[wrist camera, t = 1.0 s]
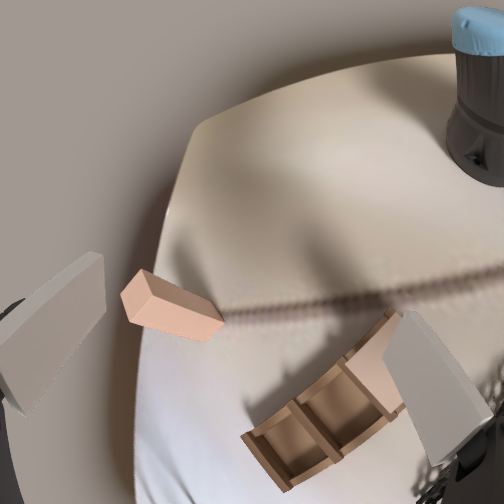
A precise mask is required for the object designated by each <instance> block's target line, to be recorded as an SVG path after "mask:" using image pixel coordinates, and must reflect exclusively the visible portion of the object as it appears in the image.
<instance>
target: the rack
mask: <svg viewBox="0 0 504 504" xmlns="http://www.w3.org/2000/svg"><path fill="white" fill-rule="evenodd" d="M395 312H396V311H395V310H394V309H393V308H392V307H391V306H390V307H389V309H388V310H387V311H386V312H385V313H384V316H383V317H382V318H381V319H380V321H379V322H378V323H377V324H376V325H375V326H374V327H373V328H372V329H371V330H370V331H369V332H368V333H367V334H366V335H365V336H364V337H363V338H362V339H361V340H360V341H359V342H358V343H357V344H356V345H355V346H354V347H353V348H352V349H351V350H350V351H349V352H348V353H347V354H346V355H345V356H342V357H341V358H340V359H338V360H337V361H336V362H335V363H336V364H335V365H334V366H333V367H332V368H331V369H330V370H328V371H327V372H326V373H325V374H324V375H323V376H322V377H320V378H319V379H318V380H317V381H316V382H315V383H313V384H312V385H311V386H310V387H309V388H307V389H306V390H305V391H304V392H303V393H301V394H300V395H299V396H298V397H296V398H294V399H292V400H290V401H289V402H288V403H286V404H285V405H286V406H285V407H283V408H282V409H281V410H279V411H278V412H277V413H275V414H274V415H273V416H271V417H270V418H268V419H267V420H266V421H264V422H263V423H261V424H260V425H259V426H257V427H256V428H254V429H253V430H251V431H249V432H246V433H244V434H243V435H241V436H240V437H241V439H242V440H243V441H244V443H245V444H246V446H247V447H248V448H249V450H250V451H251V452H252V454H253V455H254V457H255V458H256V459H257V461H258V462H259V463H260V464H261V466H262V467H263V468H264V470H265V471H266V472H267V473H268V475H269V476H270V477H271V479H272V480H273V481H274V482H275V483H276V485H277V486H278V487H279V488H280V489H281V491H282V492H283V493H285V492H287V491H289V490H291V489H292V488H293V487H294V486H296V485H298V484H300V483H302V482H303V481H305V480H307V479H309V478H311V477H312V476H314V475H316V474H317V473H319V472H321V471H322V470H324V469H326V468H327V467H329V466H330V465H332V464H336V463H337V462H339V461H341V460H342V459H343V458H344V456H346V455H347V454H348V453H350V452H351V451H353V450H354V449H356V448H357V447H358V446H360V445H361V444H362V443H364V442H365V441H366V440H368V439H369V438H370V437H371V436H373V435H374V434H375V433H376V432H378V431H379V430H380V429H381V428H383V427H384V426H385V425H386V424H387V423H389V422H390V423H391V422H392V421H393V420H394V419H395V418H396V417H397V416H398V414H399V413H400V412H401V411H402V410H403V409H404V408H405V407H406V406H405V404H404V402H403V403H402V404H401V405H399V406H398V407H397V408H396V409H395V410H394V411H393V412H392V413H391V414H390V413H389V412H388V411H387V410H386V409H385V407H384V406H383V405H382V404H381V403H380V402H379V401H378V400H377V399H376V398H375V397H374V396H373V394H372V393H371V392H370V391H369V390H368V389H367V388H366V387H365V386H364V385H363V384H362V383H361V381H360V380H359V379H358V378H357V377H356V376H355V375H354V374H353V373H352V372H351V371H350V369H349V368H348V367H347V366H346V365H345V363H346V362H348V361H349V360H350V359H351V358H352V357H353V356H354V355H355V354H356V353H357V352H358V351H359V350H360V349H361V348H362V347H363V346H364V345H365V344H366V343H367V342H368V341H369V340H370V339H371V338H372V337H373V336H374V335H375V334H376V333H377V332H378V331H379V330H380V329H381V328H382V327H383V325H384V324H385V323H386V322H387V321H388V320H389V319H390V318H391V317H392V316H393V314H394V313H395ZM401 317H402V316H401Z"/></svg>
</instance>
